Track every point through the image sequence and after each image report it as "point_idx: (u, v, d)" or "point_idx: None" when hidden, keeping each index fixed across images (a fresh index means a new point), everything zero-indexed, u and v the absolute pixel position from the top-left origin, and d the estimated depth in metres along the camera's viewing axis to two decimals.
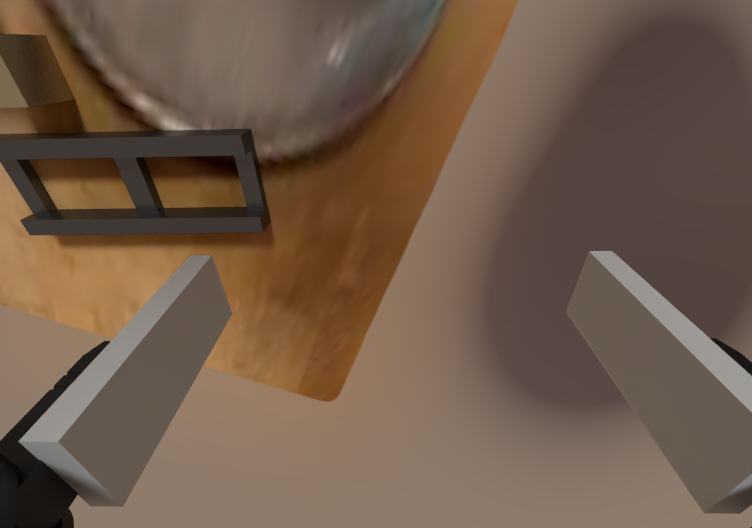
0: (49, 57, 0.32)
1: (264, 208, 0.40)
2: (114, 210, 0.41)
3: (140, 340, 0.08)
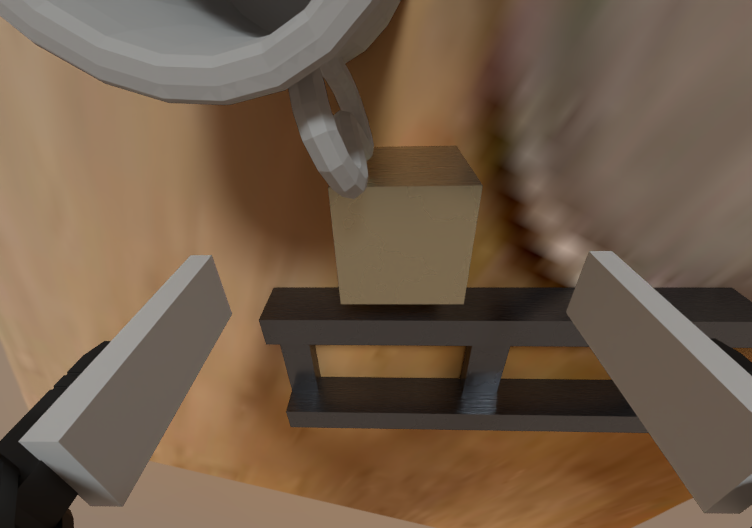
0: None
1: None
2: (417, 383, 0.26)
3: (140, 340, 0.08)
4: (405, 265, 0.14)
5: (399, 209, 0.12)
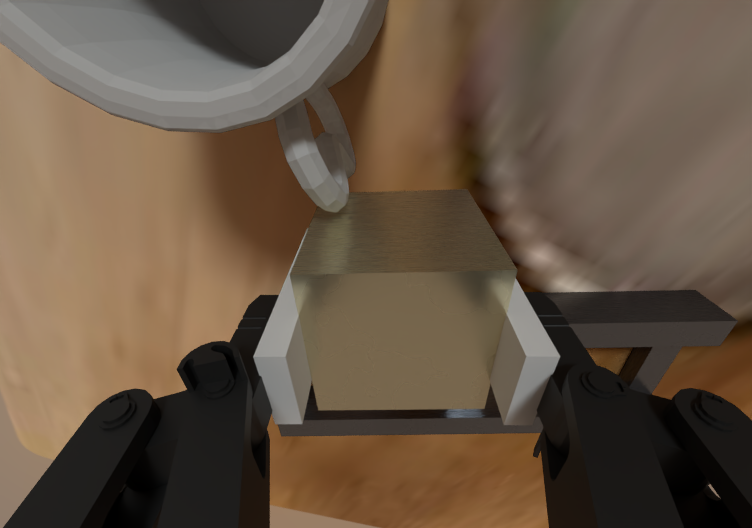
0: None
1: None
2: None
3: None
4: (405, 366, 0.10)
5: (395, 302, 0.09)
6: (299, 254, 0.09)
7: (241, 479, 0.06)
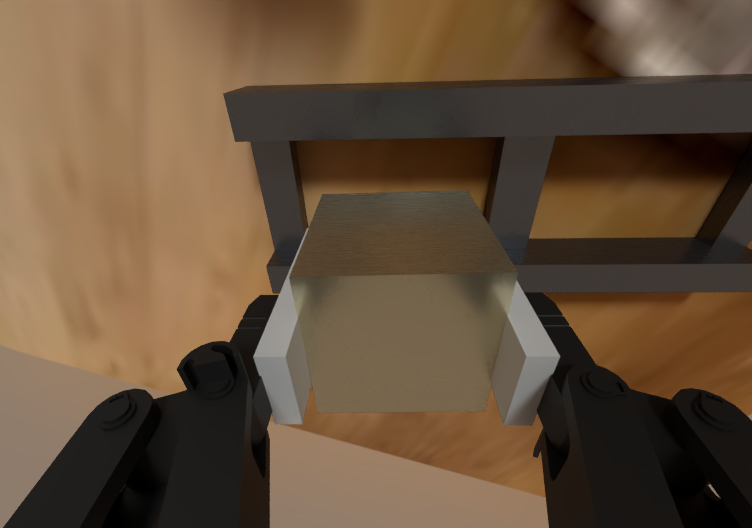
0: None
1: None
2: None
3: None
4: (405, 369, 0.10)
5: (395, 304, 0.08)
6: (298, 255, 0.09)
7: (241, 479, 0.06)
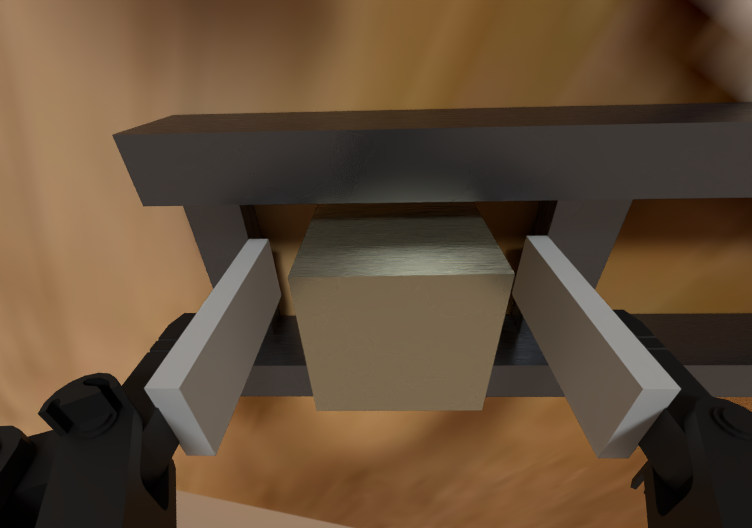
0: None
1: None
2: None
3: (225, 309, 0.09)
4: (402, 368, 0.10)
5: (393, 304, 0.09)
6: (298, 256, 0.09)
7: (123, 516, 0.05)
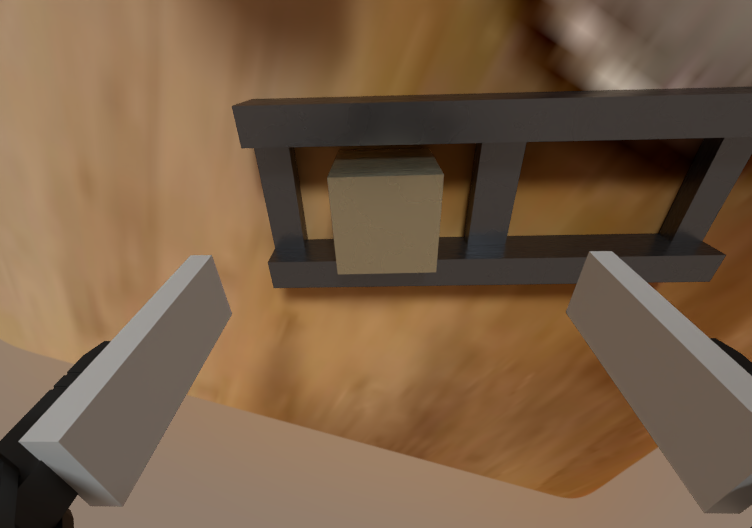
0: None
1: None
2: None
3: (140, 340, 0.08)
4: (388, 239, 0.17)
5: (381, 194, 0.16)
6: (330, 172, 0.17)
7: None
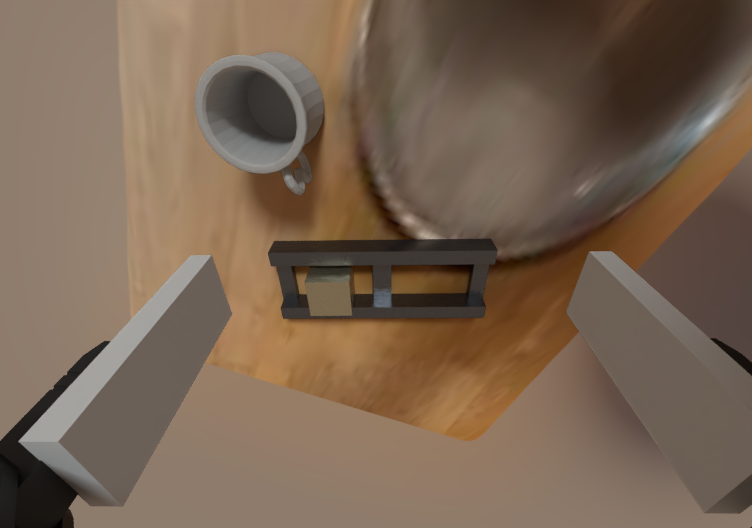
0: (352, 272, 0.46)
1: None
2: None
3: (140, 340, 0.08)
4: (330, 303, 0.43)
5: (326, 288, 0.41)
6: (306, 277, 0.42)
7: None
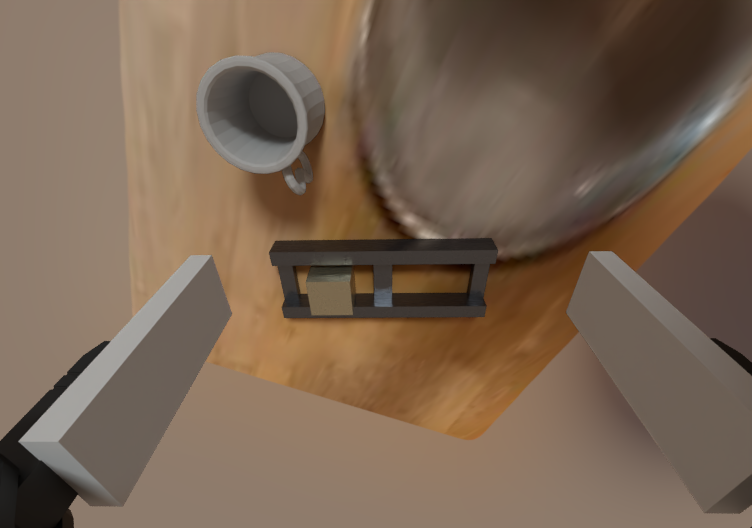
0: (353, 271, 0.46)
1: None
2: None
3: (140, 340, 0.08)
4: (331, 302, 0.43)
5: (327, 287, 0.42)
6: (307, 277, 0.42)
7: None
